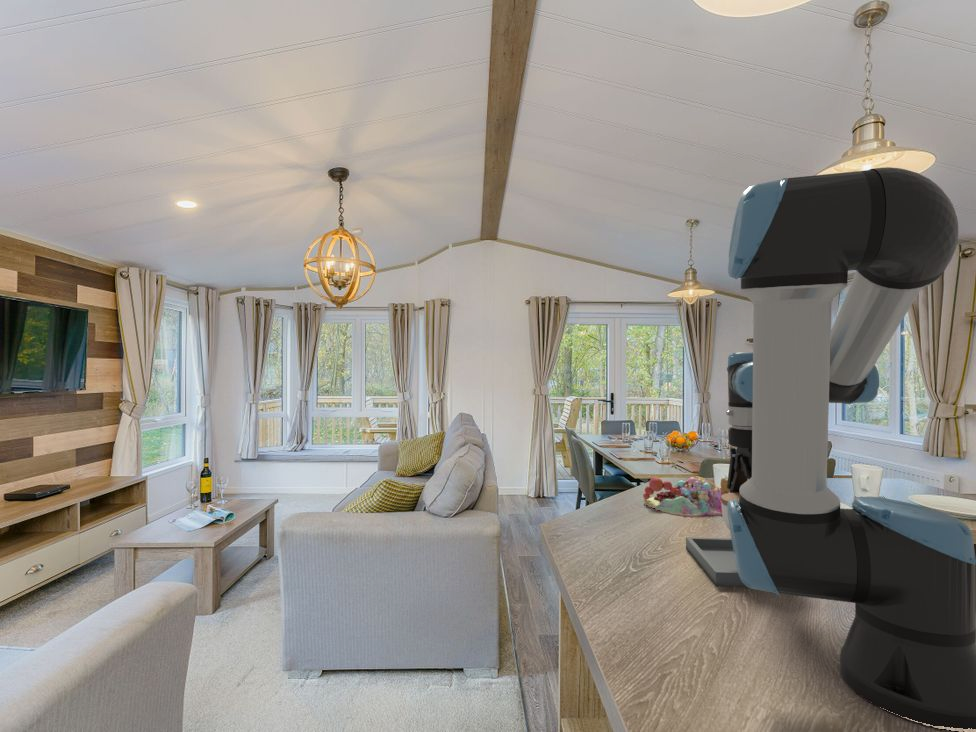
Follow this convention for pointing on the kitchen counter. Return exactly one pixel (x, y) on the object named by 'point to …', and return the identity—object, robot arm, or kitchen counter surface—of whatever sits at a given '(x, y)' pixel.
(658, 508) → the candy landscape model
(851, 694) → the kitchen counter surface
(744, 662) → the kitchen counter surface
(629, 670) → the kitchen counter surface
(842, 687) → the kitchen counter surface
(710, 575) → the tray
